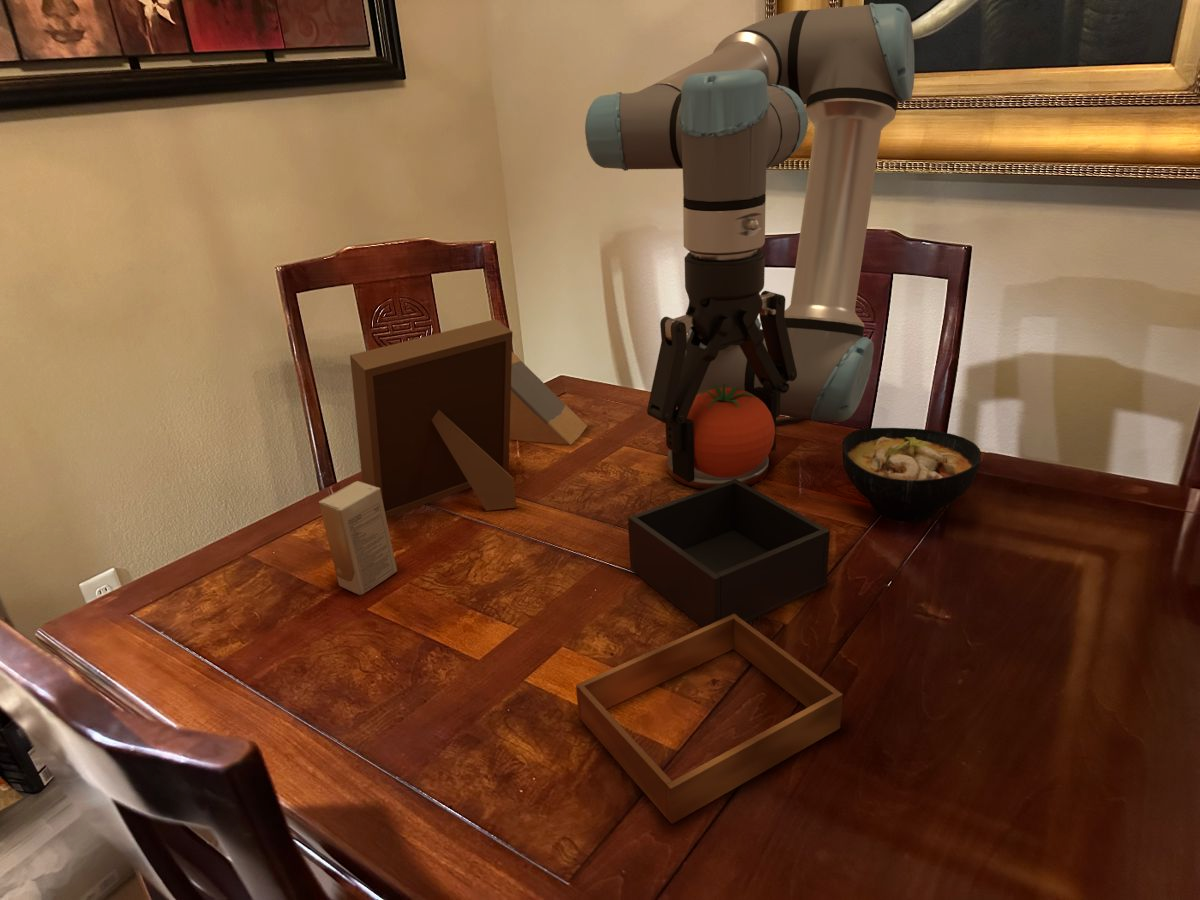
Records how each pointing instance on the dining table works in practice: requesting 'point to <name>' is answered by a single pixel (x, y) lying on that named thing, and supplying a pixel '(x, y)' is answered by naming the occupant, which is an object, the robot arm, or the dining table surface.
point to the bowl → (909, 470)
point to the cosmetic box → (358, 537)
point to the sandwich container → (539, 410)
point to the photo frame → (437, 417)
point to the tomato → (730, 431)
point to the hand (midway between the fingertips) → (724, 461)
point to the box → (740, 760)
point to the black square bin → (728, 553)
